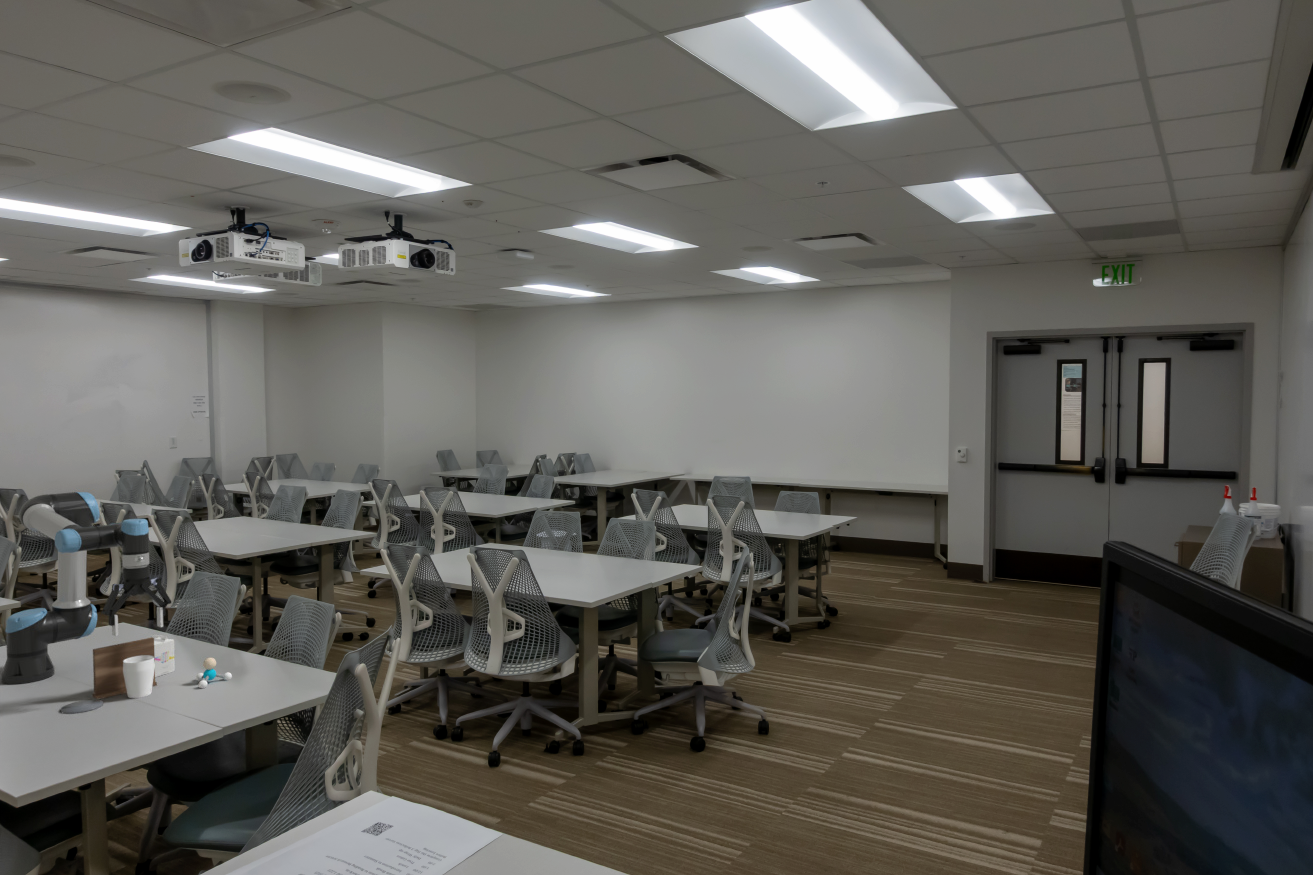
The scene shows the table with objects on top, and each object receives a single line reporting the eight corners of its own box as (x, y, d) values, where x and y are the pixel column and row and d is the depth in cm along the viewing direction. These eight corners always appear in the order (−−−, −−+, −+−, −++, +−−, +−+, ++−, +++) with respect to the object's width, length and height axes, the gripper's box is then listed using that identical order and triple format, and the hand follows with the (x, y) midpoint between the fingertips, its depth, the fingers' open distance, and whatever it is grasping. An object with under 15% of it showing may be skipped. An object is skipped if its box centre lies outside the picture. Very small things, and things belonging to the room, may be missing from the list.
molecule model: (187, 682, 297) (186, 657, 296) (223, 674, 305) (222, 650, 305) (200, 690, 289) (199, 664, 288) (236, 681, 297) (236, 656, 297)
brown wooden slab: (92, 697, 282) (91, 648, 281) (151, 682, 296) (150, 636, 295) (97, 699, 279) (96, 650, 279) (156, 685, 294) (155, 638, 293)
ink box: (137, 675, 305) (136, 637, 304) (158, 668, 313) (157, 632, 312) (154, 678, 302) (153, 640, 301) (175, 671, 309) (174, 634, 309)
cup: (140, 700, 278) (139, 663, 278) (116, 698, 280) (115, 662, 279) (162, 691, 287) (161, 655, 286) (138, 689, 289) (137, 654, 288)
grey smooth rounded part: (55, 708, 271) (55, 706, 271) (94, 699, 279) (94, 697, 279) (68, 715, 264) (68, 714, 264) (108, 705, 273) (108, 704, 273)
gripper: (98, 573, 270) (100, 640, 270) (181, 561, 290) (183, 624, 290) (88, 571, 274) (90, 637, 275) (171, 559, 294) (172, 621, 295)
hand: (138, 630), depth 283 cm, fingers open, 13 cm apart
